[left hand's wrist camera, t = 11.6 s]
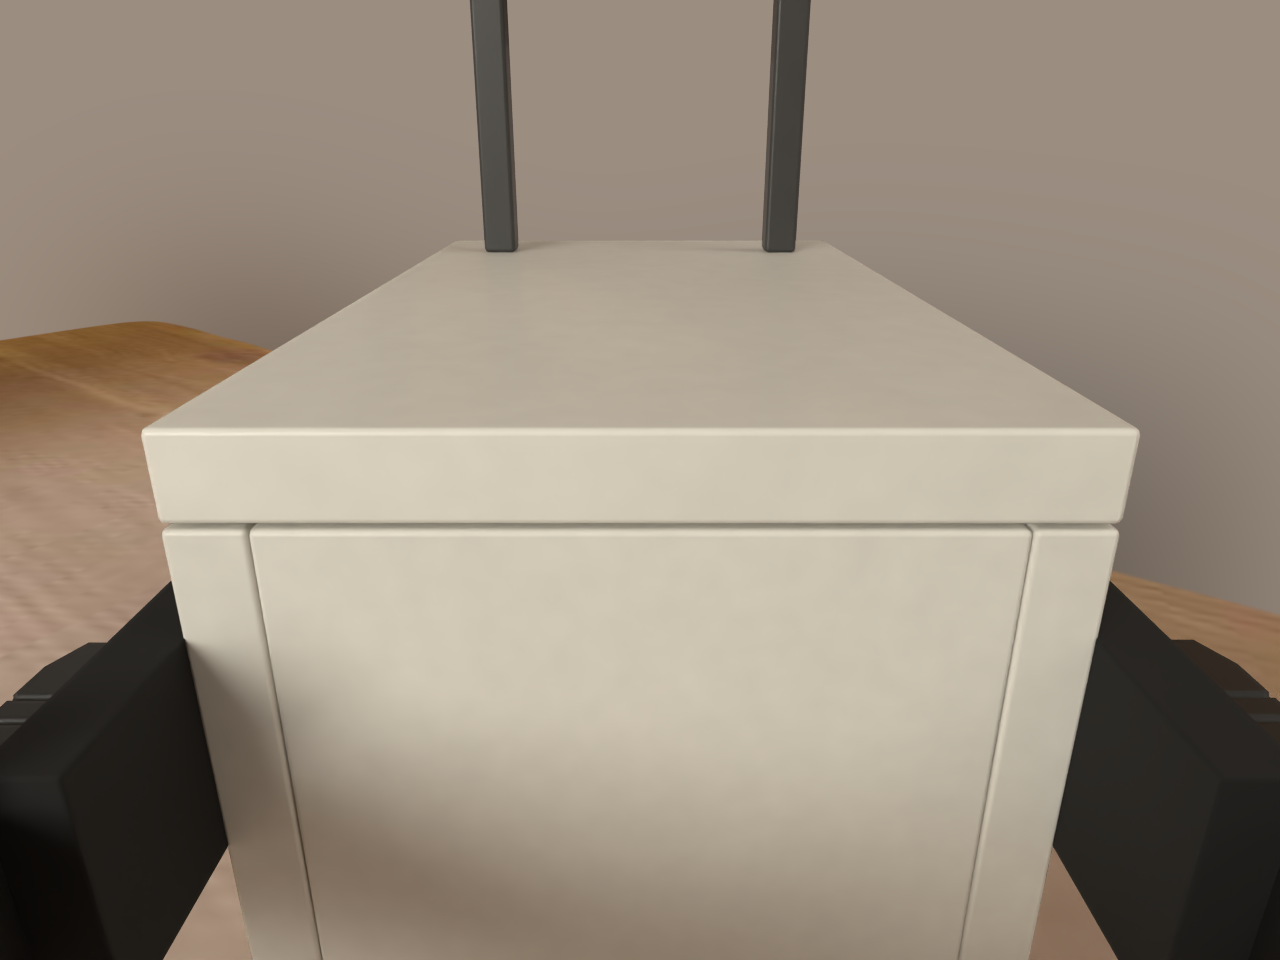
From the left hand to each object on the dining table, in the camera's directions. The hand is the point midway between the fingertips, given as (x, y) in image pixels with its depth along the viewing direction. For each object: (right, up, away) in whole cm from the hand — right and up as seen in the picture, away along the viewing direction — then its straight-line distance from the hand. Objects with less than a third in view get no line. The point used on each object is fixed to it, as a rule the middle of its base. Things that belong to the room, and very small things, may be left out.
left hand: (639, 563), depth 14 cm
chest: (0, -5, +5) cm, 7 cm away
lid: (0, +4, +2) cm, 4 cm away
